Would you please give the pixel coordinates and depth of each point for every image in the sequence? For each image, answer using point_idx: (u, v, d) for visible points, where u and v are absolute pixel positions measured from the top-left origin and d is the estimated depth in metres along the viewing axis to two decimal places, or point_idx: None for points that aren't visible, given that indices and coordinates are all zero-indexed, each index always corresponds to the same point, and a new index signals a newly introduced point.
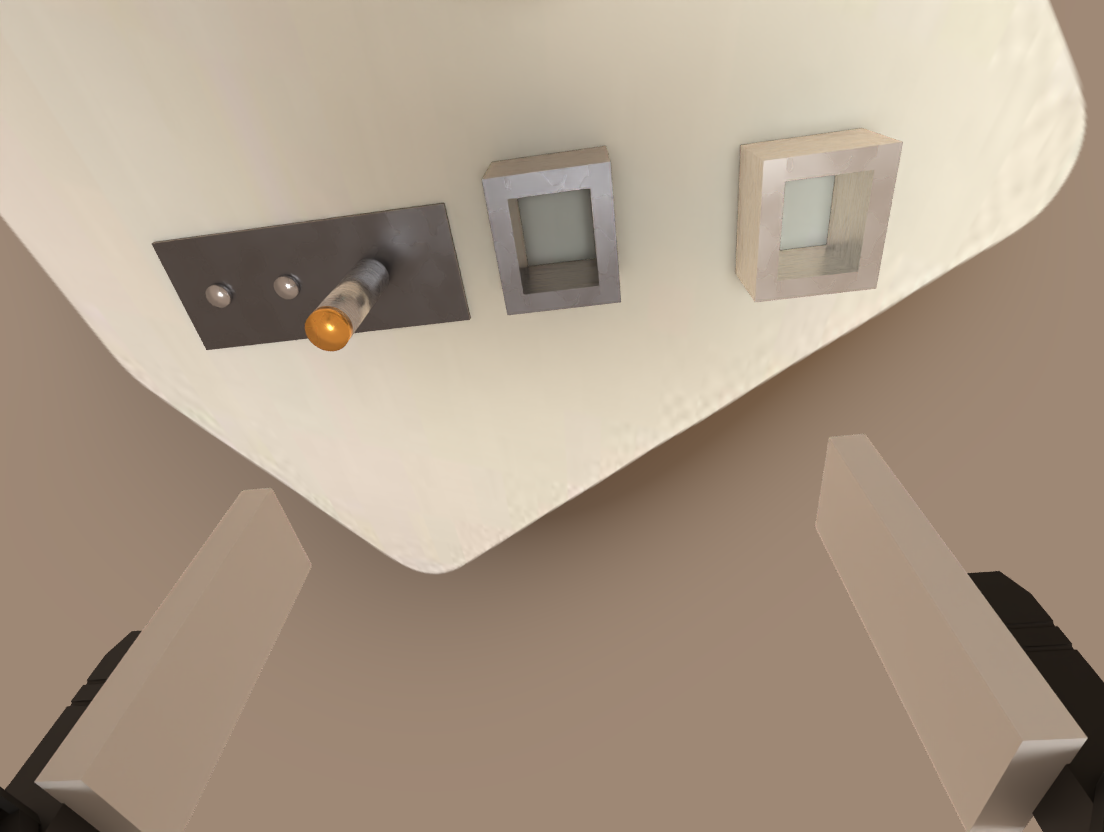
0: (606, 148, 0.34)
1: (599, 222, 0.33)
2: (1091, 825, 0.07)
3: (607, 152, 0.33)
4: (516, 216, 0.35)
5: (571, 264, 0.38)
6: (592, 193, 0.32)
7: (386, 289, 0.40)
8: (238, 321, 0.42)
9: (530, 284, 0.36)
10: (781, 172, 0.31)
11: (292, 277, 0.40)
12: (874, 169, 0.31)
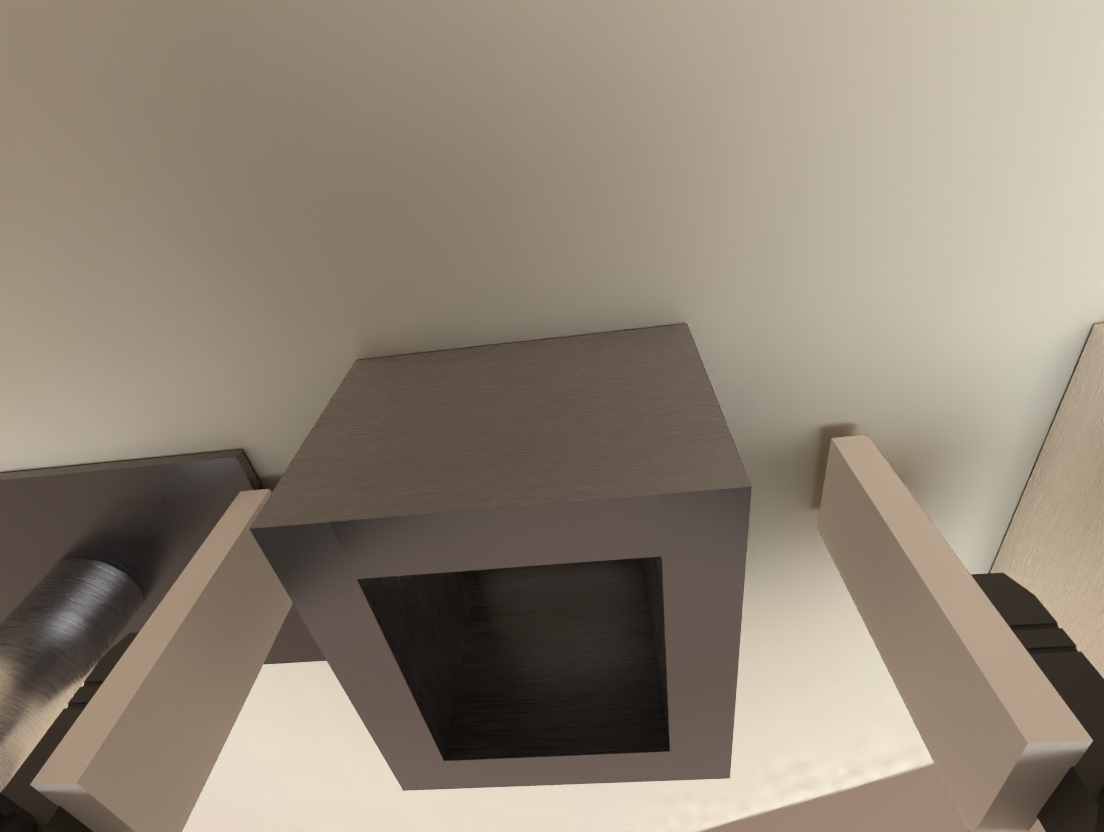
0: (695, 345, 0.11)
1: (686, 634, 0.09)
2: (1097, 828, 0.07)
3: (708, 381, 0.10)
4: None
5: (580, 581, 0.15)
6: (668, 570, 0.09)
7: (142, 610, 0.17)
8: None
9: (472, 685, 0.13)
10: None
11: None
12: None
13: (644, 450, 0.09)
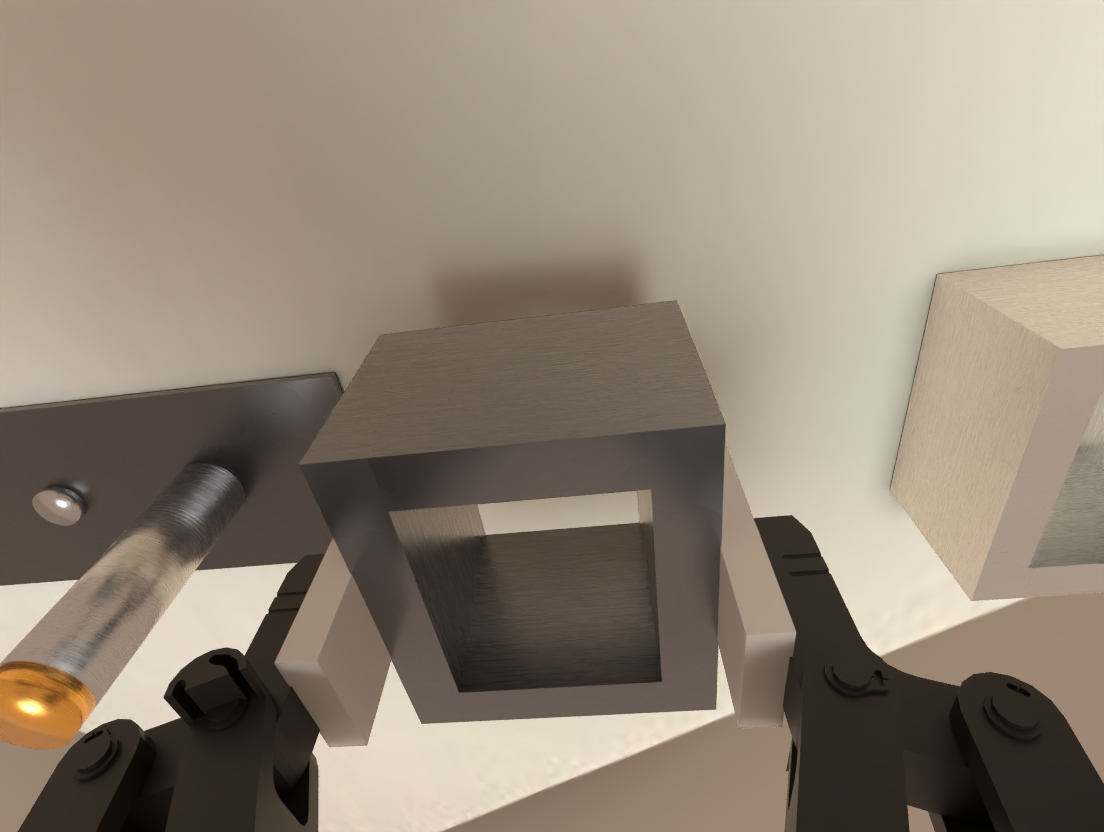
0: None
1: (673, 564, 0.11)
2: (800, 716, 0.08)
3: (693, 345, 0.11)
4: None
5: (581, 542, 0.17)
6: (657, 502, 0.10)
7: (242, 509, 0.22)
8: None
9: (483, 631, 0.15)
10: (1097, 372, 0.13)
11: (68, 489, 0.22)
12: None
13: (636, 399, 0.10)
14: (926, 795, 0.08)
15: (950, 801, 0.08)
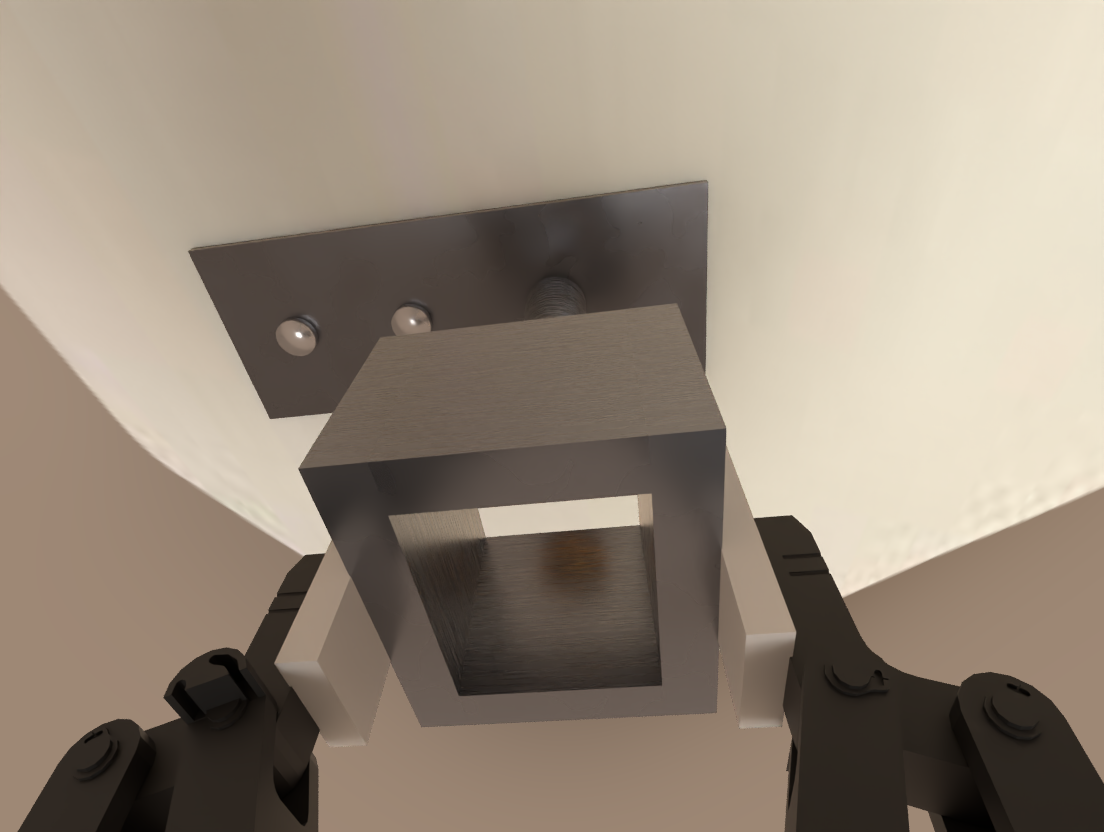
0: (683, 320, 0.12)
1: (674, 567, 0.11)
2: (800, 716, 0.08)
3: (694, 349, 0.11)
4: None
5: (582, 545, 0.17)
6: (657, 506, 0.10)
7: None
8: (325, 376, 0.26)
9: (483, 634, 0.15)
10: None
11: (422, 307, 0.24)
12: None
13: (636, 403, 0.10)
14: (926, 795, 0.08)
15: (950, 803, 0.08)
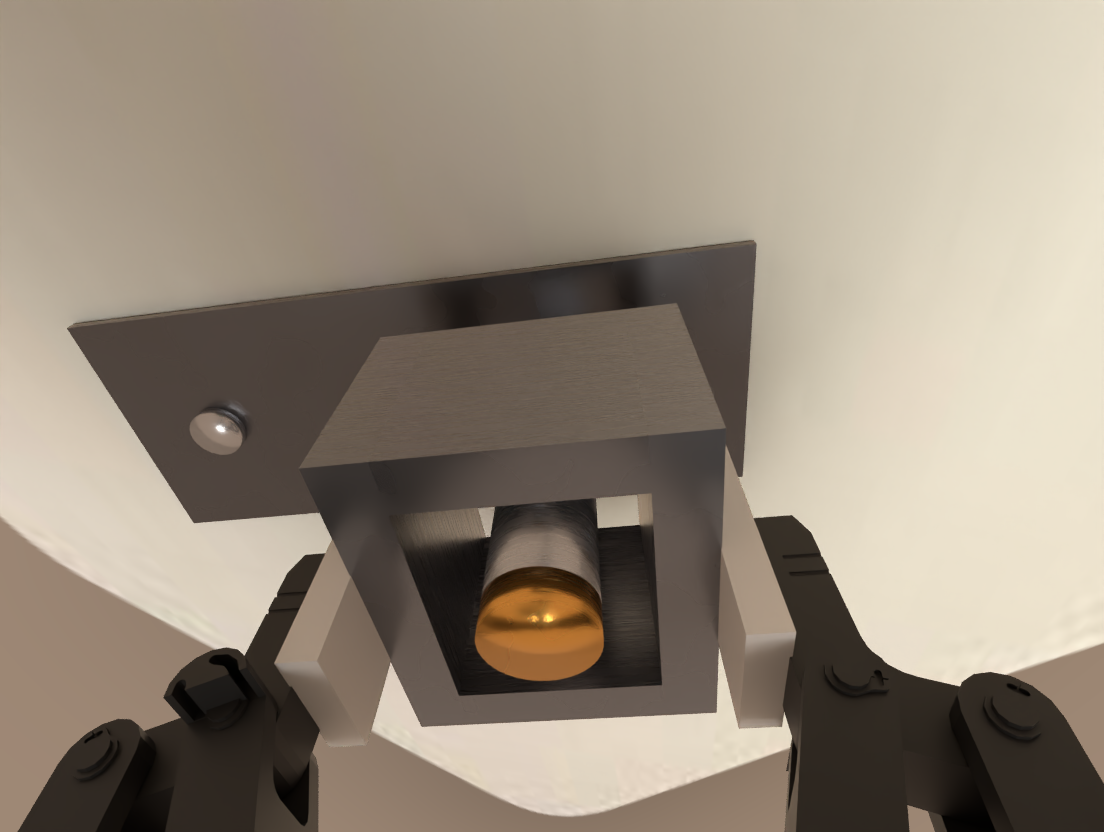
0: (683, 320, 0.12)
1: (674, 568, 0.11)
2: (800, 716, 0.08)
3: (693, 349, 0.11)
4: None
5: None
6: (657, 506, 0.10)
7: None
8: (258, 476, 0.20)
9: None
10: None
11: None
12: None
13: (636, 403, 0.10)
14: (925, 796, 0.08)
15: (950, 802, 0.08)
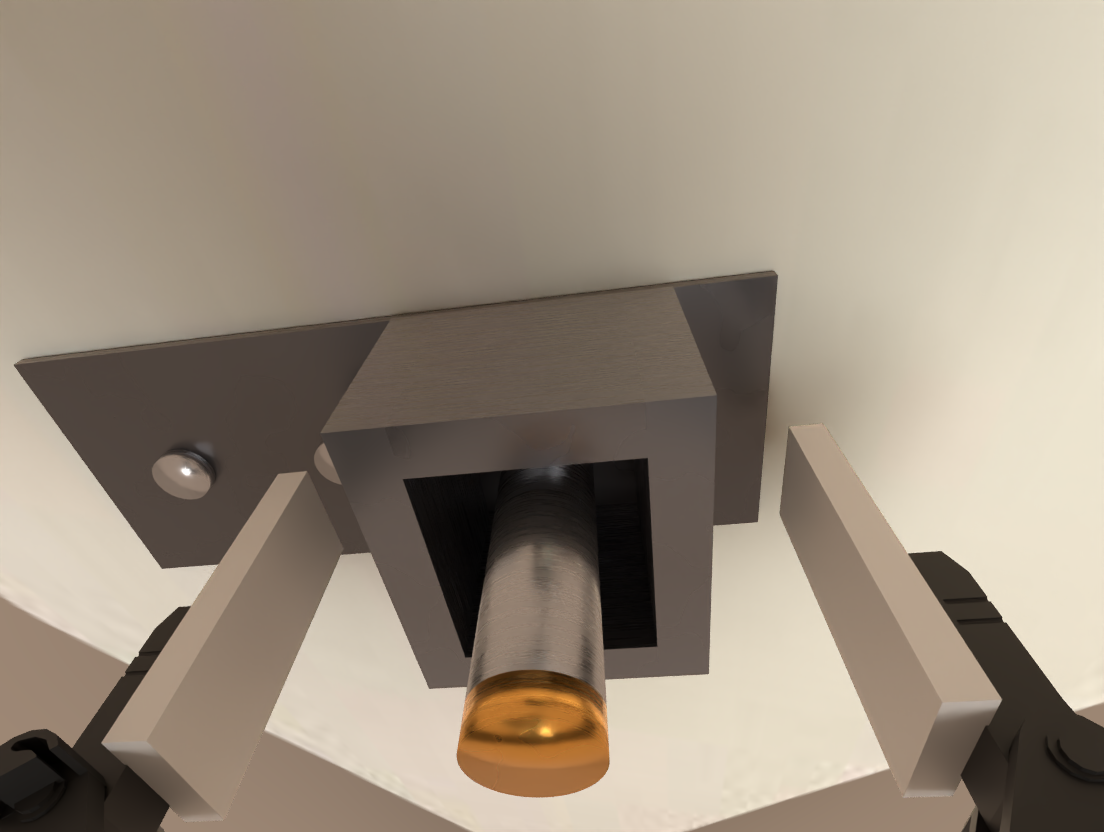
0: (678, 302, 0.13)
1: (668, 530, 0.12)
2: (1006, 785, 0.07)
3: (688, 326, 0.12)
4: None
5: None
6: (653, 470, 0.11)
7: None
8: (230, 520, 0.19)
9: None
10: None
11: None
12: None
13: (634, 374, 0.11)
14: None
15: None
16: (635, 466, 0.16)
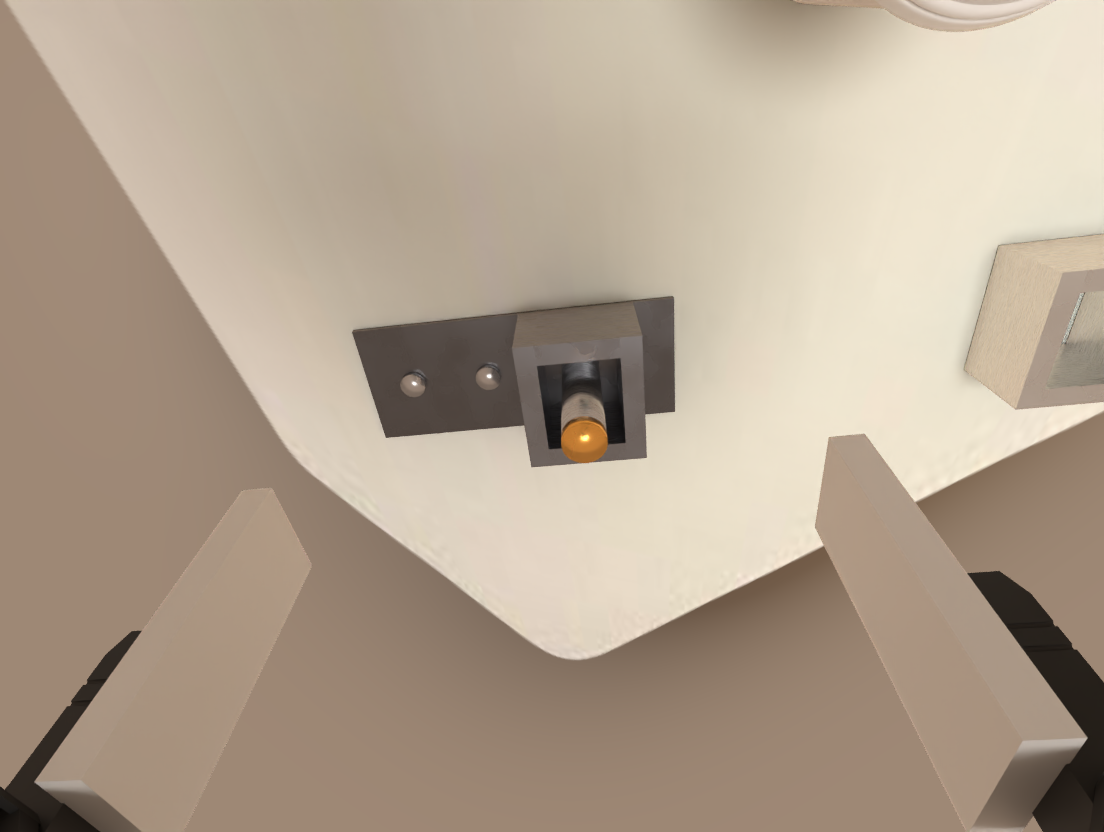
0: None
1: (628, 387, 0.32)
2: (1092, 825, 0.07)
3: (636, 316, 0.33)
4: (542, 369, 0.35)
5: None
6: (622, 362, 0.32)
7: None
8: (427, 410, 0.39)
9: (555, 434, 0.36)
10: (1078, 284, 0.29)
11: (495, 367, 0.38)
12: None
13: (616, 330, 0.32)
14: None
15: None
16: (618, 380, 0.37)
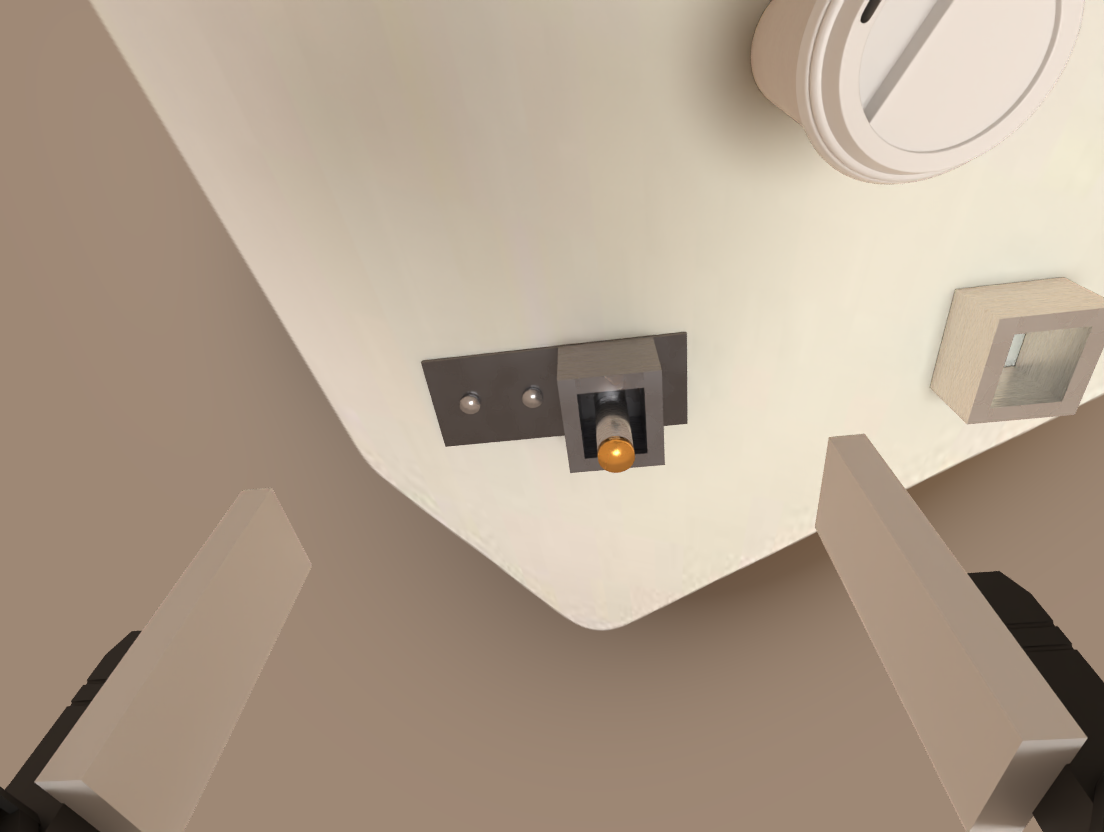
0: (654, 343, 0.42)
1: (650, 410, 0.40)
2: (1091, 825, 0.07)
3: (656, 351, 0.41)
4: None
5: None
6: (645, 391, 0.39)
7: None
8: (480, 424, 0.47)
9: (588, 445, 0.44)
10: (1012, 327, 0.36)
11: (538, 389, 0.45)
12: (1092, 326, 0.36)
13: (640, 365, 0.39)
14: None
15: None
16: (640, 399, 0.45)
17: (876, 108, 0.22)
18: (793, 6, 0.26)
